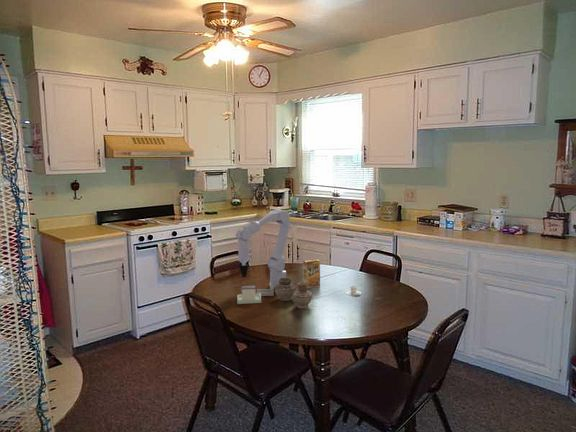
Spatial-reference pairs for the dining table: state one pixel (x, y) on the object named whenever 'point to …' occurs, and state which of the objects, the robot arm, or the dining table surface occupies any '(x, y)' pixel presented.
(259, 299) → the tray
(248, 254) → the robot arm
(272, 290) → the bay
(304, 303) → the pottery
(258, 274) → the dining table surface
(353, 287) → the white headphones
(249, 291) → the block
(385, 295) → the dining table surface
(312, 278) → the candy box
